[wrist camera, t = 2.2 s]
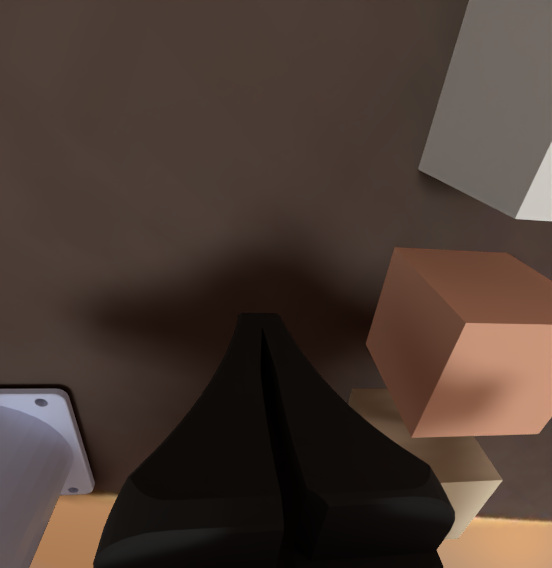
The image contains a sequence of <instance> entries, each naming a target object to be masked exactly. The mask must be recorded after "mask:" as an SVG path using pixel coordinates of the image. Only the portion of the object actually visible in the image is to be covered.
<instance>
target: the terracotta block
mask: <svg viewBox="0 0 552 568" xmlns="http://www.w3.org/2000/svg"><path fill="white" fill-rule="evenodd" d="M366 346H367V348H368V350H369V352H370V354H371V356H372V358H373V360H374V362H375V364H376V366H377V368H378V370H379V372H380V374H381V376H382V378H383V381H384V383H385V385H386V387H387V389H388V391H389V393H390V395H391V397H392V399H393V401H394V403H395V405H396V407H397V409H398V411H399V413H400V415H401V417H402V419H403V421H404V423H405V426H406V428H407V430H408V432H409V434H410V436H411V438H421V437H453V436H486V435H518V434H539V433H540V431H541V430H542V429H543V427H544V426H545V425H546V423H547V422H548V421H549V420H550V418H551V417H552V281H551V280H549V279H548V278H546V277H544V276H543V275H541V274H540V273H538V272H537V271H535V270H534V269H532V268H530V267H529V266H527V265H526V264H524V263H523V262H521V261H520V260H518V259H516V258H515V257H513V256H512V255H510V254H509V253H499V252H480V251H460V250H440V249H421V248H401V247H395V248H394V251H393V255H392V258H391V261H390V265H389V268H388V271H387V275H386V278H385V281H384V285H383V288H382V291H381V294H380V298H379V301H378V304H377V308H376V311H375V314H374V318H373V321H372V324H371V328H370V331H369V334H368V338H367V341H366Z"/></svg>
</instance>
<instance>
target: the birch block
mask: <svg viewBox="0 0 552 568" xmlns="http://www.w3.org/2000/svg"><path fill="white" fill-rule="evenodd" d="M348 405H349V406H350V407H351V408H353V409H354V410H355V411H356V412H357V413H358V414H360V415H361V416H362V417H363V418H364V419H365V420H367V421H368V422H369V423H370V424H371V425H373V426H374V427H375V428H377V429H378V430H379V431H380V432H382V433H383V434H384V435H386V436H387V437H388V438H390V439H391V440H393V441H394V442H395V443H397V444H398V445H400V446H401V447H403V448H404V449H406V450H407V451H409V452H410V453H412V454H413V455H415V456H416V457H418V458H419V459H421V460H423V461H424V462H426V463H427V464H429V465H430V467H431V468H432V470H433V472H434V473H435V475H436V477H437V478H438V480H439V481H440V483H441V485H442V487H443V489H444V491H445V492H446V494H447V497H448V499H449V501H450V503H451V505H452V507H453V509H454V511H455V522H454V524H453V526H452V528H451V530H450V532H449V533H448V535H447V536H446V537H445V539H456V538H459V536H460V535H461V534H462V533H463V531H464V530H465V529H466V527H467V526H468V525H469V523H470V522H471V521H472V520H473V518H474V517H475V516H476V514H477V513H478V512H479V510H480V509H481V508H482V506H483V505H484V504H485V503H486V501H487V500H488V499H489V497H490V496H491V495H492V493H493V492H494V491H495V489H496V488H497V487H498V486H499V484H500V483H501V482H502V478H501V477H500V475H499V474H498V472H497V471H496V469H495V468H494V466H493V465H492V463H491V462H490V460H489V459H488V457H487V456H486V454H485V453H484V451H483V450H482V448H481V446H480V445H479V443H478V442H477V440H476V439H475V437H474V436H453V437H421V438H411V436H410V434H409V432H408V430H407V428H406V426H405V423H404V421H403V419H402V417H401V415H400V413H399V411H398V409H397V407H396V405H395V403H394V401H393V399H392V397H391V395H390V393H389V391H388V389H387V388H367V389H352V391H351V394H350V397H349V401H348Z"/></svg>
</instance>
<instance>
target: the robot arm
mask: <svg viewBox="0 0 552 568" xmlns="http://www.w3.org/2000/svg"><path fill="white" fill-rule="evenodd" d="M94 485H95V482H94V478H93V475H92V472H91V468H90V465H89V462H88V458H87V455H86V452H85V448H84V445H83V442H82V438H81V435H80V432H79V428H78V425H77V422H76V418H75V415H74V412H73V409H72V405H71V402H70V399H69V396H68V394H67V393H66V392H65V391H64V390H61V389H56V388H44V389H0V568H29V567H30V565H31V562H32V560H33V557H34V555H35V553H36V550H37V548H38V546H39V543H40V541H41V538H42V536H43V534H44V531H45V529H46V527H47V524H48V522H49V519H50V517H51V515H52V512H53V510H54V508H55V505H56V503H57V501H58V498H59V496H60V495H78V494H88V493H90V492H92V491H93V488H94ZM454 522H455V511H454V509H453V507H452V505H451V503H450V501H449V499H448V497H447V494H446V492H445V491H444V489H443V487H442V485H441V483H440V481H439V480H438V478H437V477H436V475H435V473H434V472H433V470H432V468H431V467H430V465H429V464H427V463H426V462H424V461H423V460H421V459H419V458H418V457H416V456H415V455H413V454H412V453H410V452H409V451H407V450H406V449H404V448H403V447H401V446H400V445H398V444H397V443H395V442H394V441H393V440H391V439H390V438H388V437H387V436H386V435H384V434H383V433H382V432H380V431H379V430H378V429H377V428H375V427H374V426H373V425H371V424H370V423H369V422H368V421H367V420H365V419H364V418H363V417H362V416H361V415H360V414H358V413H357V412H356V411H355V410H354V409H353V408H351V407H350V406H349V405H348V404H347V403H346V402H345V401H344V400H343V399H342V398H341V397H340V396H339V395H338V394H337V393H336V392H335V391H334V390H333V389H332V388H331V387H330V386H329V385H328V384H327V383H326V381H325V380H324V379H323V378H322V377H321V376H320V375H319V373H318V372H317V371H316V370H315V368H314V367H313V366H312V365H311V363H310V362H309V361H308V360H307V358H306V357H305V356H304V354H303V353H302V351H301V350H300V348H299V347H298V346H297V344H296V343H295V341H294V340H293V338H292V337H291V335H290V333H289V332H288V330H287V328H286V327H285V325H284V323H283V321H282V320H281V318H280V316H279V315H278V314H273V313H241V314H239V315H238V321H237V326H236V329H235V332H234V335H233V338H232V340H231V343H230V345H229V347H228V349H227V352H226V354H225V356H224V358H223V360H222V362H221V363H220V365H219V367H218V369H217V371H216V373H215V374H214V376H213V378H212V379H211V381H210V383H209V384H208V386H207V387H206V389H205V390H204V392H203V393H202V395H201V396H200V398H199V399H198V400H197V402H196V403H195V404H194V406H193V407H192V408H191V410H190V411H189V412H188V414H187V415H186V416H185V417H184V419H183V420H182V421H181V422H180V423H179V424H178V426H177V427H176V428H175V429H174V430H173V431H172V432H171V434H170V435H169V436H168V437H167V438H166V439H165V440H164V442H163V443H162V444H161V445H160V446H159V447H158V448H157V449H156V450H155V451H154V452H153V453H152V454H151V455H150V456H149V457H148V458H147V459H146V460H145V461H144V462H143V463H142V464H141V465H140V466H139V467H138V468H137V469H136V470H135V471H134V472H133V473H132V474H131V475H130V476H129V477H128V478H127V480H126V482H125V484H124V486H123V487H122V489H121V491H120V493H119V495H118V497H117V499H116V501H115V503H114V505H113V507H112V509H111V512H110V514H109V516H108V519H107V521H106V524H105V526H104V529H103V532H102V536H101V539H100V542H99V546H98V549H97V552H96V556H95V559H94V562H93V565H94V568H443V565H442V562H441V560H440V557H439V555H438V553H437V548H438V547H439V545H440V544H441V543H442V541H443V540H444V539H445V537H446V536H447V535H448V533H449V532H450V530H451V528H452V526H453V524H454Z"/></svg>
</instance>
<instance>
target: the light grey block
mask: <svg viewBox="0 0 552 568" xmlns="http://www.w3.org/2000/svg"><path fill="white" fill-rule="evenodd" d="M418 170H420V171H422V172H424V173H426V174H428V175H430V176H432V177H434V178H436V179H438V180H440V181H442V182H444V183H446V184H447V185H449V186H451V187H453V188H455V189H457V190H459V191H461V192H463V193H465V194H467V195H469V196H471V197H473V198H475V199H477V200H479V201H481V202H483V203H485V204H487V205H489V206H491V207H493V208H495V209H497V210H499V211H501V212H503V213H505V214H507V215H509V216H511V217H513V218H514V219H526V220H541V221H552V0H469V2H468V6H467V9H466V12H465V16H464V19H463V22H462V26H461V29H460V32H459V36H458V39H457V42H456V45H455V49H454V52H453V55H452V59H451V62H450V65H449V69H448V72H447V75H446V79H445V82H444V85H443V89H442V92H441V95H440V99H439V102H438V105H437V109H436V112H435V115H434V118H433V122H432V125H431V128H430V132H429V135H428V138H427V142H426V145H425V148H424V152H423V155H422V158H421V162H420V165H419V168H418Z"/></svg>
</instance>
